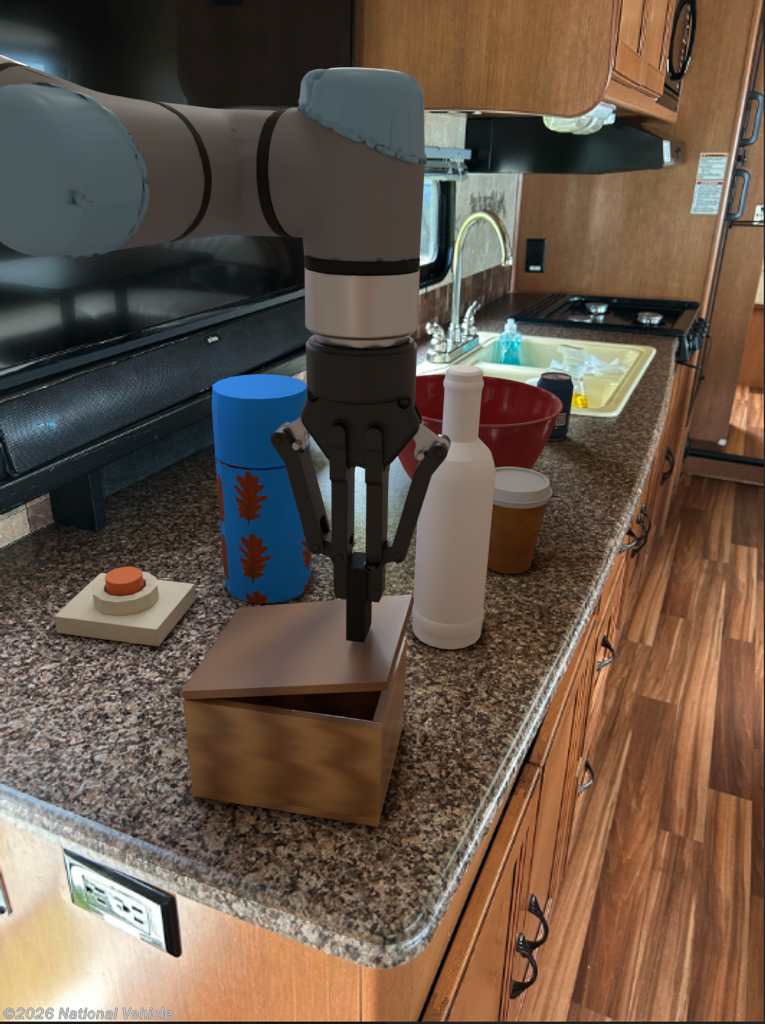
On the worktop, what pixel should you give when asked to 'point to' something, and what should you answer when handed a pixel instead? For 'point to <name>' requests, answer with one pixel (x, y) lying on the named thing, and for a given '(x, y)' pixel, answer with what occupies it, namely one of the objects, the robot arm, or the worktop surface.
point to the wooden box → (299, 749)
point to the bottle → (455, 524)
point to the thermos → (258, 488)
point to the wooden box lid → (301, 651)
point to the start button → (124, 581)
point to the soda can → (564, 391)
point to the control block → (127, 611)
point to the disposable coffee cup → (516, 518)
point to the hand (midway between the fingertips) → (358, 632)
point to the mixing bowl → (493, 419)
